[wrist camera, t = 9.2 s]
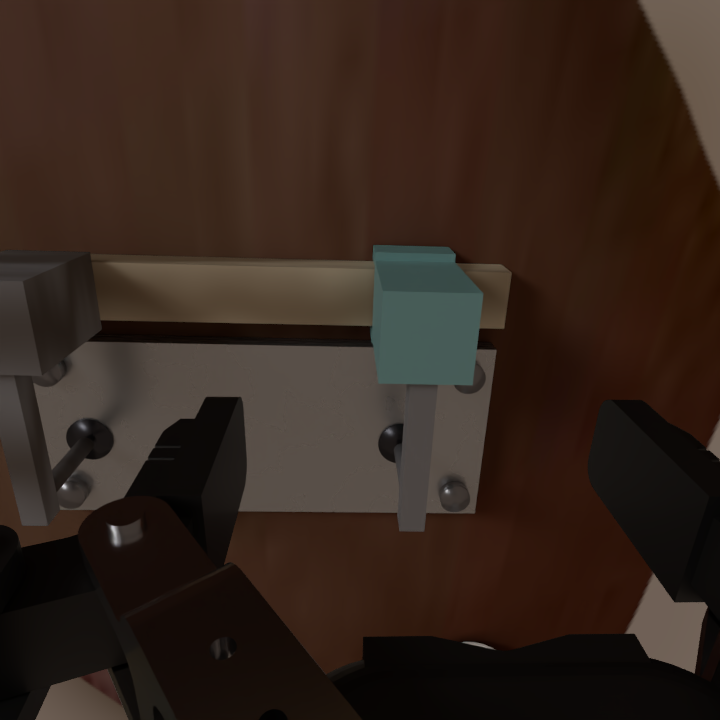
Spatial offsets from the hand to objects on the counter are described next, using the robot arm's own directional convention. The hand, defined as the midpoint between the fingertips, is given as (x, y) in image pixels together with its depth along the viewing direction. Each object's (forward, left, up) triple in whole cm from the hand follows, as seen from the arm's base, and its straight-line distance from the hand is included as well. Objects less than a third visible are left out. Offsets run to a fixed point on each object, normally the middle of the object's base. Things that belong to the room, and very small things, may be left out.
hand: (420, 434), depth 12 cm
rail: (+5, -7, -18) cm, 20 cm away
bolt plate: (+10, -6, -18) cm, 22 cm away
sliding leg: (+5, +2, -18) cm, 19 cm away
